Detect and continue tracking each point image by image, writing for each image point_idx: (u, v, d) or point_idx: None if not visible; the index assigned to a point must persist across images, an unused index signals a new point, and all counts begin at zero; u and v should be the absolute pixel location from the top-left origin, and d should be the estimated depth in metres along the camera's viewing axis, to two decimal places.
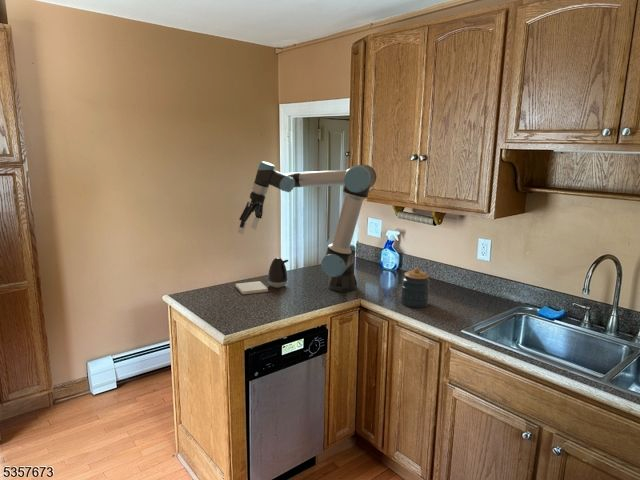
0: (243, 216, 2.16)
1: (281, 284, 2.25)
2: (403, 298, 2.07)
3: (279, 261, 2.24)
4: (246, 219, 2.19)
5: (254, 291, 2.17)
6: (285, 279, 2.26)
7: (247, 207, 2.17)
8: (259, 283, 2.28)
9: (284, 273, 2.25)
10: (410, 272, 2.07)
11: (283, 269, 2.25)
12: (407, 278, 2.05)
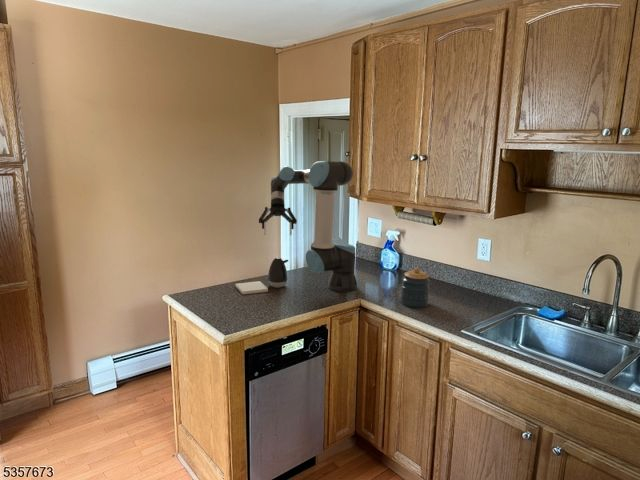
0: None
1: (281, 284, 2.25)
2: (403, 298, 2.07)
3: (279, 261, 2.24)
4: (264, 219, 2.36)
5: (254, 291, 2.17)
6: (285, 279, 2.26)
7: None
8: (259, 283, 2.28)
9: (284, 273, 2.25)
10: (410, 272, 2.07)
11: (283, 269, 2.25)
12: (407, 278, 2.05)
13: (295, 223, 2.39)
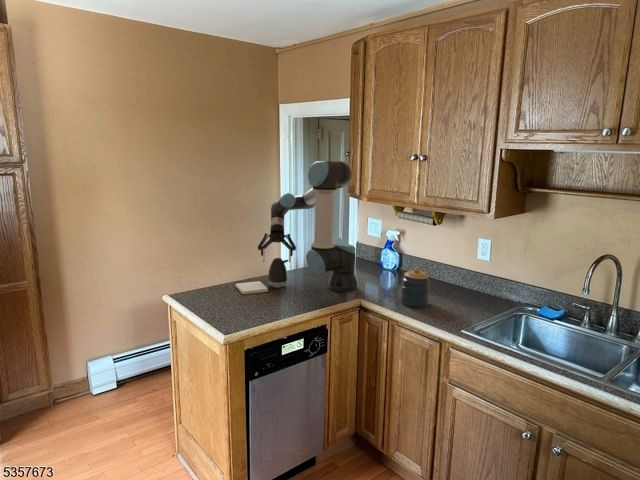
0: None
1: (281, 284, 2.25)
2: (403, 298, 2.07)
3: (279, 261, 2.24)
4: (263, 246, 2.35)
5: (254, 291, 2.17)
6: (285, 279, 2.26)
7: None
8: (259, 283, 2.28)
9: (284, 273, 2.25)
10: (410, 272, 2.07)
11: (283, 269, 2.25)
12: (407, 278, 2.05)
13: None
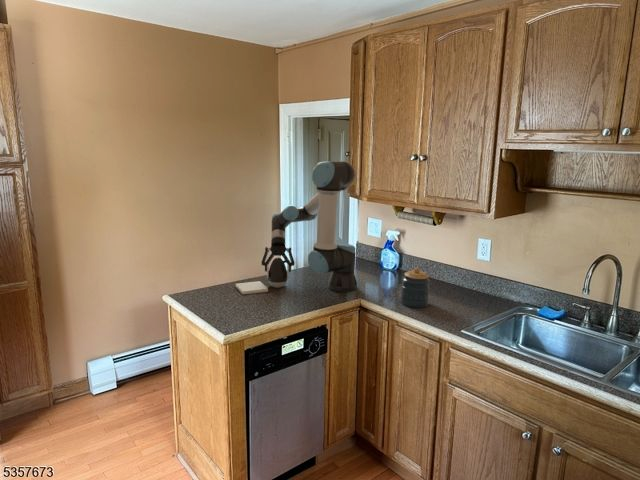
0: None
1: (281, 284, 2.25)
2: (403, 298, 2.07)
3: (280, 261, 2.24)
4: (266, 261, 2.28)
5: (254, 291, 2.17)
6: (285, 279, 2.26)
7: None
8: (259, 283, 2.28)
9: (284, 273, 2.25)
10: (410, 272, 2.07)
11: (283, 269, 2.25)
12: (407, 278, 2.05)
13: (293, 265, 2.30)
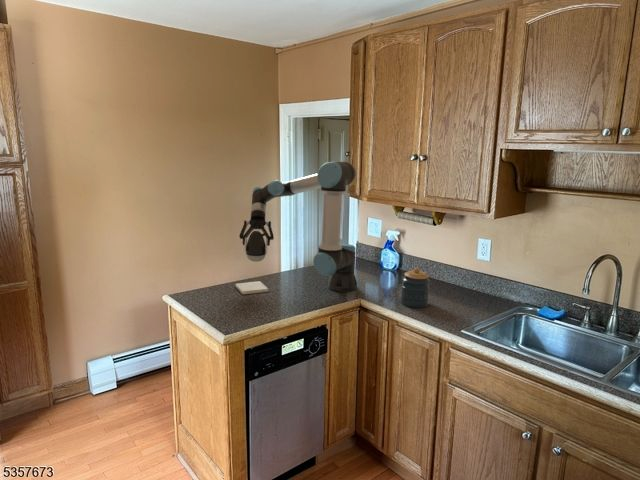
0: None
1: (259, 258, 2.18)
2: (403, 298, 2.07)
3: (258, 234, 2.17)
4: (244, 235, 2.21)
5: (254, 291, 2.17)
6: (263, 253, 2.19)
7: None
8: (259, 283, 2.28)
9: (262, 246, 2.18)
10: (410, 272, 2.07)
11: (261, 242, 2.18)
12: (407, 278, 2.05)
13: (272, 239, 2.23)
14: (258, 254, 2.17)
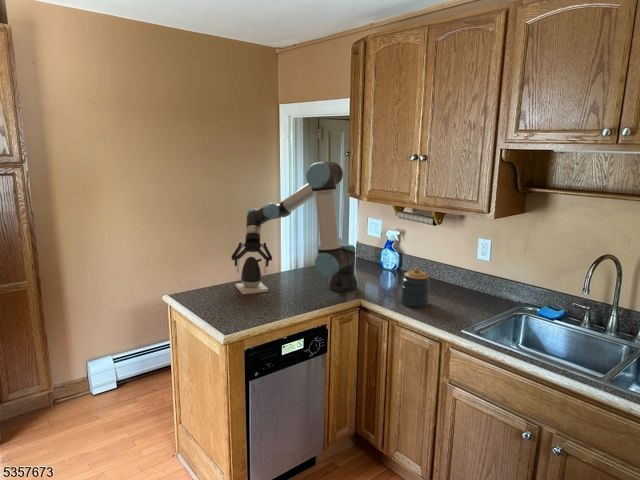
0: None
1: (254, 284, 2.19)
2: (403, 298, 2.07)
3: (253, 260, 2.18)
4: (237, 256, 2.22)
5: (254, 291, 2.17)
6: (259, 279, 2.20)
7: None
8: None
9: (257, 272, 2.19)
10: (410, 272, 2.07)
11: (256, 268, 2.19)
12: (407, 278, 2.05)
13: None
14: (253, 280, 2.18)
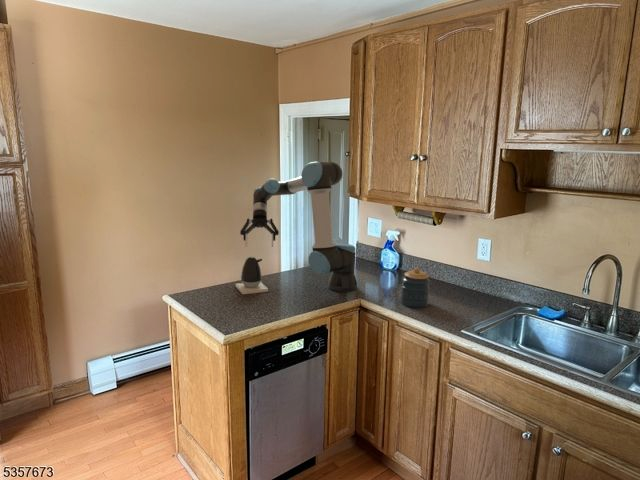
0: None
1: (254, 284, 2.19)
2: (403, 298, 2.07)
3: (253, 260, 2.18)
4: (245, 231, 2.34)
5: (254, 291, 2.17)
6: (259, 279, 2.20)
7: None
8: None
9: (258, 273, 2.19)
10: (410, 272, 2.07)
11: (256, 268, 2.18)
12: (407, 278, 2.05)
13: (277, 234, 2.38)
14: (253, 280, 2.18)
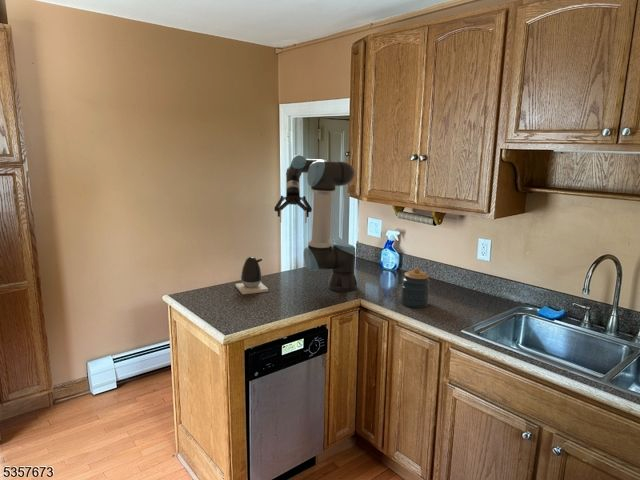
0: None
1: (254, 284, 2.19)
2: (403, 298, 2.07)
3: (253, 260, 2.18)
4: (279, 207, 2.40)
5: (254, 291, 2.17)
6: (259, 279, 2.20)
7: None
8: None
9: (258, 273, 2.19)
10: (410, 272, 2.07)
11: (256, 268, 2.18)
12: (407, 278, 2.05)
13: (310, 211, 2.43)
14: (253, 280, 2.18)
